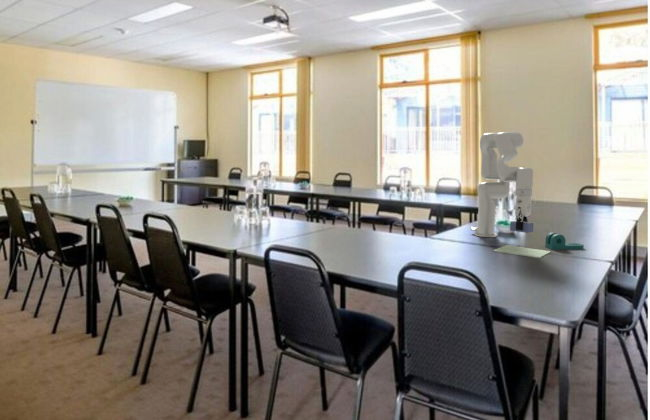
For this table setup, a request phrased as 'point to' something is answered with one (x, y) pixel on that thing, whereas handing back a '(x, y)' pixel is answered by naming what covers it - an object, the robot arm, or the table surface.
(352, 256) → the table surface
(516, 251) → the mat
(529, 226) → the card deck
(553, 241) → the bracket
